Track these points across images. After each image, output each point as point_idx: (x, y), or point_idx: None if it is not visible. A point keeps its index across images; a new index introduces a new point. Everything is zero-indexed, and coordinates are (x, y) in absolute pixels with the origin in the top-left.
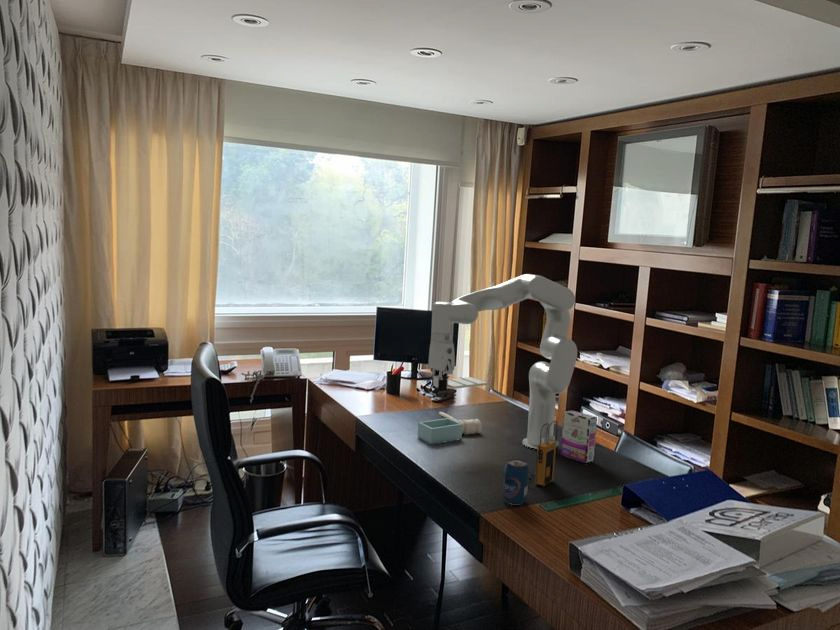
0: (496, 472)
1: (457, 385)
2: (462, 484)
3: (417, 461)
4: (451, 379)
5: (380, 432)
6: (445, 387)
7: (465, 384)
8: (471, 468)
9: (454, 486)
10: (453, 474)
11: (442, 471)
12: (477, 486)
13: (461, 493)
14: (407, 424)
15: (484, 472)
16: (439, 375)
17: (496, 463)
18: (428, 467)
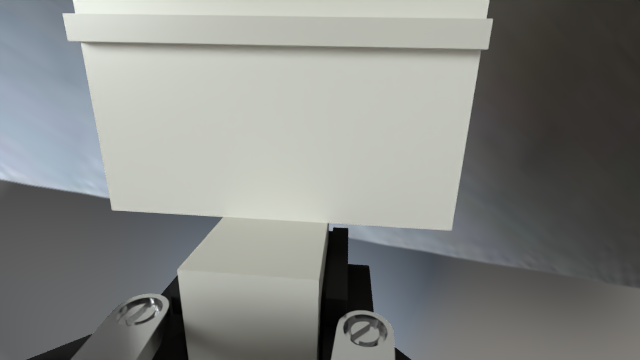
0: (600, 70)
1: (434, 152)
2: (587, 234)
3: (365, 236)
4: (146, 41)
5: (80, 188)
6: (368, 273)
7: (490, 27)
8: (512, 126)
9: (581, 261)
10: (512, 209)
11: (473, 222)
12: (632, 207)
13: (630, 274)
14: (8, 47)
15: (569, 110)
16: (189, 337)
17: (538, 3)
18: (423, 238)
